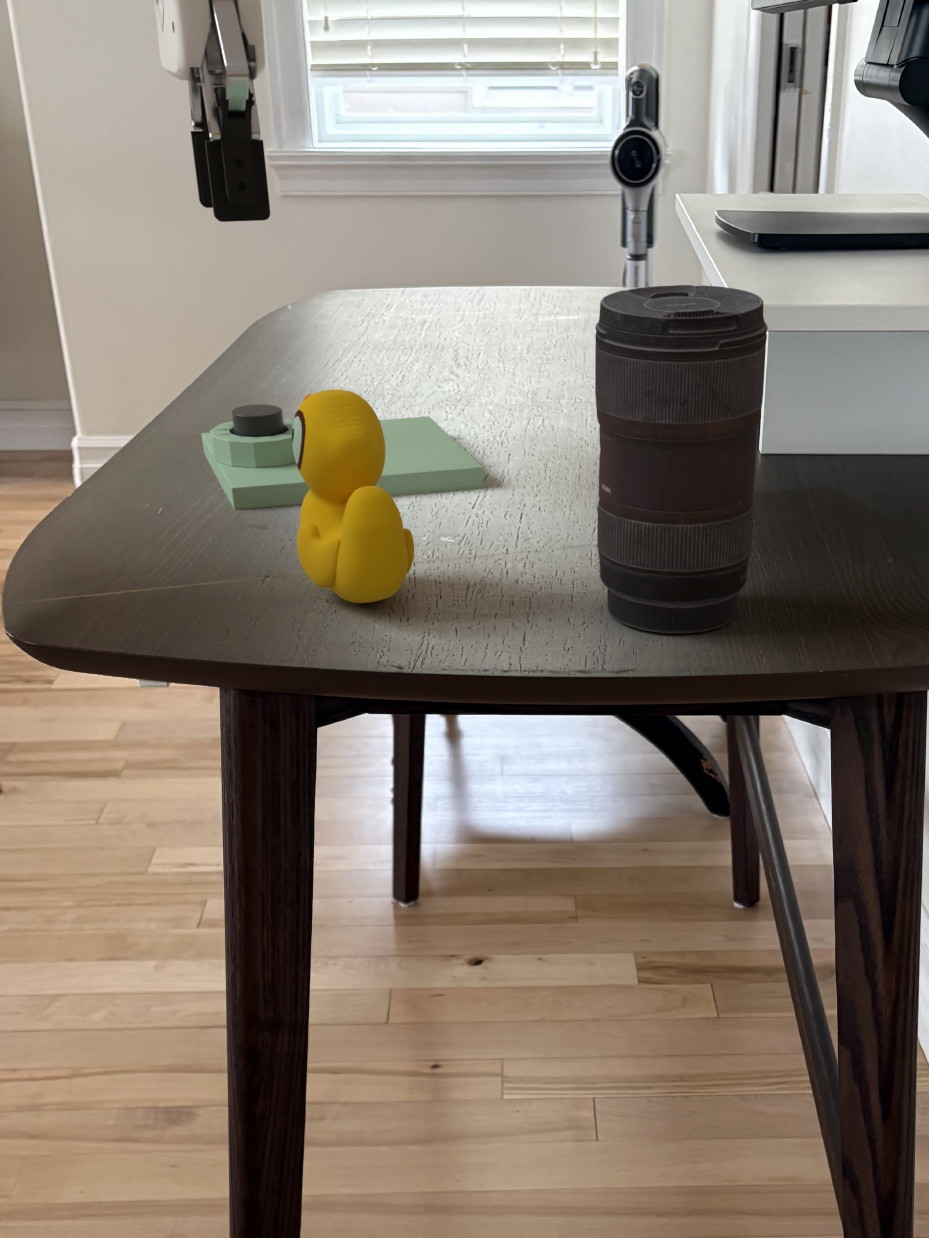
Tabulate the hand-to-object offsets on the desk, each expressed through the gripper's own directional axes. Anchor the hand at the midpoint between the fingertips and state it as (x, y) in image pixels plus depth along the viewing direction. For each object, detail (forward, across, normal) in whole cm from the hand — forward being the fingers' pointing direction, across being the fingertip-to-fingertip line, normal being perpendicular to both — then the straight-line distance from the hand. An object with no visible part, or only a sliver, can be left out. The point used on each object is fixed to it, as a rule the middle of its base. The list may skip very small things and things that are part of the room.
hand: (234, 210), depth 90 cm
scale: (+16, 0, +5) cm, 16 cm away
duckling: (+16, +24, +1) cm, 29 cm away
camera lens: (+16, +32, +16) cm, 39 cm away
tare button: (+13, 0, 0) cm, 13 cm away
